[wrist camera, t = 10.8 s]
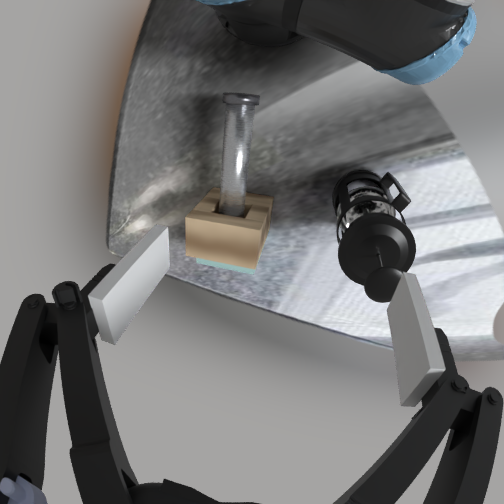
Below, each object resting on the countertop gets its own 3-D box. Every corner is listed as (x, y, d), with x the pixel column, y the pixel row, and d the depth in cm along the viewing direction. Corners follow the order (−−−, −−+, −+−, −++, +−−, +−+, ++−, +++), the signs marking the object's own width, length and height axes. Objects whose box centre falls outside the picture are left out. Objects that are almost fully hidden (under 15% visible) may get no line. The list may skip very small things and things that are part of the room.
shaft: (228, 92, 38) (218, 93, 34) (262, 95, 37) (256, 96, 33) (219, 230, 49) (210, 244, 45) (247, 235, 48) (240, 250, 45)
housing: (213, 187, 51) (185, 217, 40) (273, 196, 49) (260, 230, 39) (212, 219, 54) (185, 255, 44) (269, 230, 52) (255, 269, 42)
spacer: (214, 220, 54) (196, 246, 46) (266, 229, 53) (255, 257, 45) (214, 235, 55) (196, 262, 48) (264, 245, 54) (253, 274, 47)
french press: (360, 239, 50) (376, 340, 30) (317, 204, 48) (312, 295, 29) (408, 189, 44) (462, 271, 24) (365, 149, 42) (402, 208, 23)
